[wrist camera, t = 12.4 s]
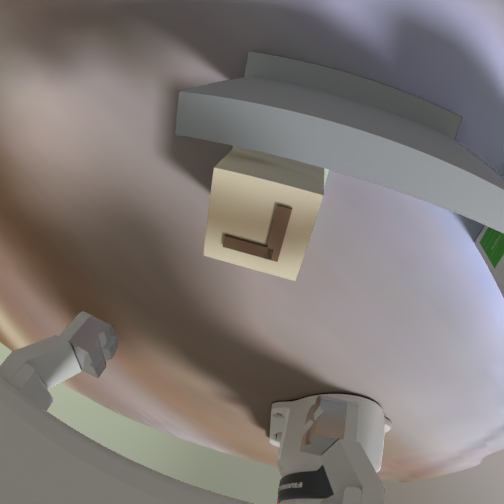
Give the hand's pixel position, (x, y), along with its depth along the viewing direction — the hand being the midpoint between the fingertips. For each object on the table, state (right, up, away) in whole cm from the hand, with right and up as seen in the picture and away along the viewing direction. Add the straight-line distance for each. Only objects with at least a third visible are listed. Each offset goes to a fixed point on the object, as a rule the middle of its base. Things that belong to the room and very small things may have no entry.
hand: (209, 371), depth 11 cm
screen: (+8, +14, +8) cm, 18 cm away
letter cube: (+3, +9, +12) cm, 15 cm away
